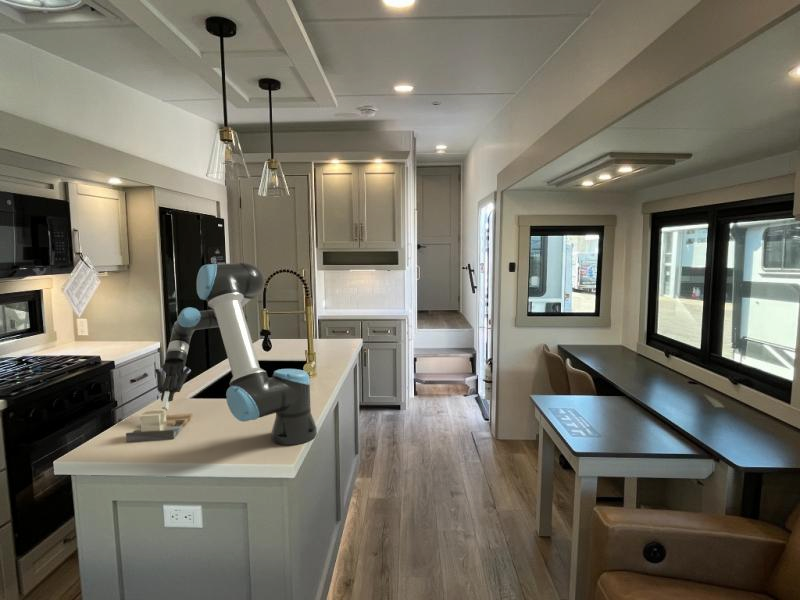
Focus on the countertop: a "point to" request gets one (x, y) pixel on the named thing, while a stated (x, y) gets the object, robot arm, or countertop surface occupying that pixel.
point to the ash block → (153, 420)
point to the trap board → (173, 428)
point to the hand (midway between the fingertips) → (164, 408)
